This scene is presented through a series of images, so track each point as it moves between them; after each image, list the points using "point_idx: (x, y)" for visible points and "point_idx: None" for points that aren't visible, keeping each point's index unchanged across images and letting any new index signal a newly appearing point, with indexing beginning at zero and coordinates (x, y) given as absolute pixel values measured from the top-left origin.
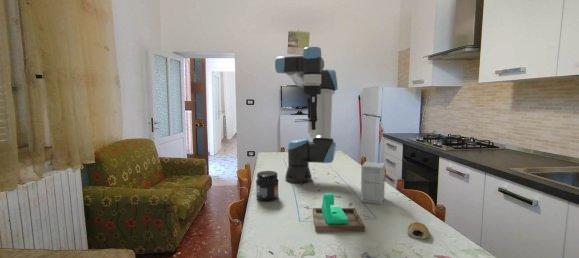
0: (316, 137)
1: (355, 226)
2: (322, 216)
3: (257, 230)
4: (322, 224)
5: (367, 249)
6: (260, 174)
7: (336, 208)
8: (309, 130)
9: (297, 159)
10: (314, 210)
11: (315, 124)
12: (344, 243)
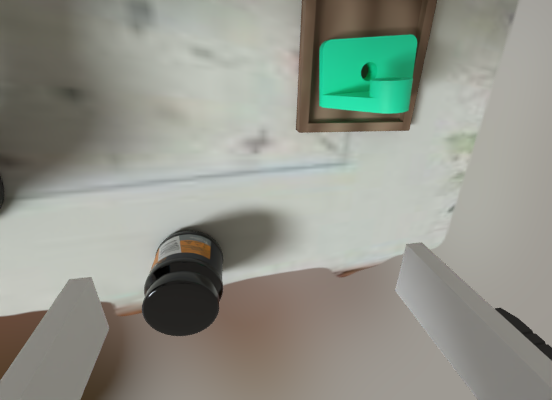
0: (423, 244)
1: (433, 16)
2: None
3: (374, 242)
4: None
5: (504, 10)
6: (198, 325)
7: (337, 58)
8: (95, 340)
9: None
10: (317, 127)
11: (531, 361)
12: (466, 63)
